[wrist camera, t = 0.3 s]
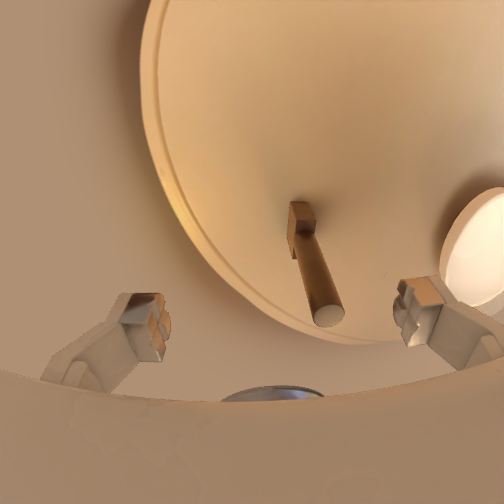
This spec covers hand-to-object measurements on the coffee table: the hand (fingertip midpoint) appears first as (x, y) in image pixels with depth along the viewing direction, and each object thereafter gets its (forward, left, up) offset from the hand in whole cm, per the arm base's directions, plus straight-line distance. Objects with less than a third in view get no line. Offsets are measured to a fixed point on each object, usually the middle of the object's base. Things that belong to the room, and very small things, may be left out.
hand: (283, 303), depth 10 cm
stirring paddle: (-11, 0, -26) cm, 29 cm away
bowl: (-26, -25, -27) cm, 45 cm away
